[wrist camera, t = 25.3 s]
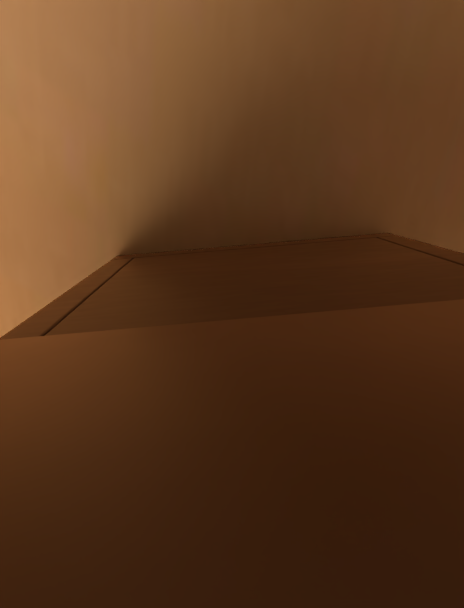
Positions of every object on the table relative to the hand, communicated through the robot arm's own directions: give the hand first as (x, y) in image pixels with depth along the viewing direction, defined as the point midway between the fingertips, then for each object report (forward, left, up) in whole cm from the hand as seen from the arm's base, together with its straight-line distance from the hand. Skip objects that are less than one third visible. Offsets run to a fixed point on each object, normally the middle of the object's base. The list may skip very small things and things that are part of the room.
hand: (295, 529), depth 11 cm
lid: (0, -8, +9) cm, 12 cm away
